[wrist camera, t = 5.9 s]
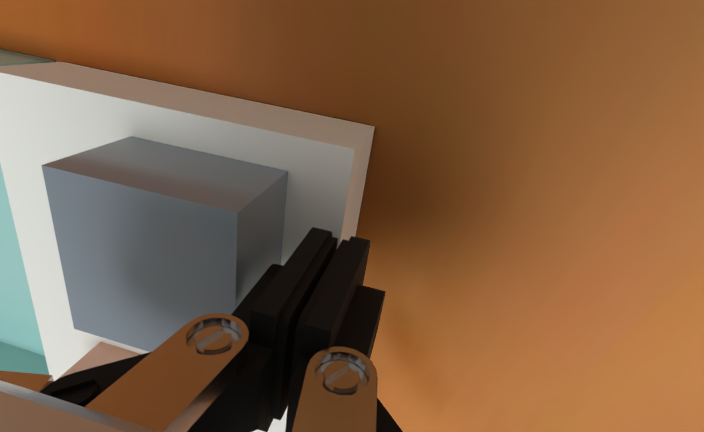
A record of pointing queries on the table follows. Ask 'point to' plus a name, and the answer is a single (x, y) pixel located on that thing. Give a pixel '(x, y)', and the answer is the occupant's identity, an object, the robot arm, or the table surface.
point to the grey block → (160, 235)
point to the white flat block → (169, 128)
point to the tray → (16, 280)
